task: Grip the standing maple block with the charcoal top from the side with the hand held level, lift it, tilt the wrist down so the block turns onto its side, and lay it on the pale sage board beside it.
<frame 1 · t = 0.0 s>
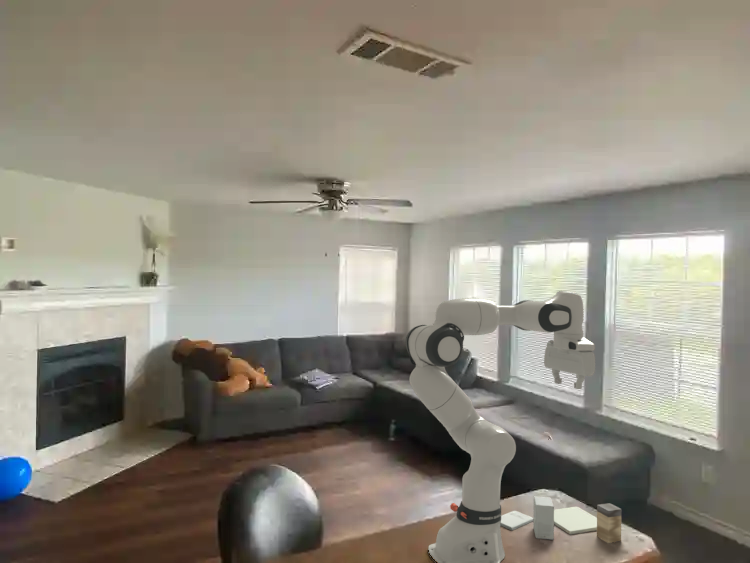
hand: (567, 386, 170), 48 cm above the table, tool pointing down, fingers open, 8 cm apart
sage board: (573, 521, 183), on the table
maple block: (608, 538, 170), on the table
small box: (543, 534, 173), on the table
external hard drive: (512, 523, 182), on the table
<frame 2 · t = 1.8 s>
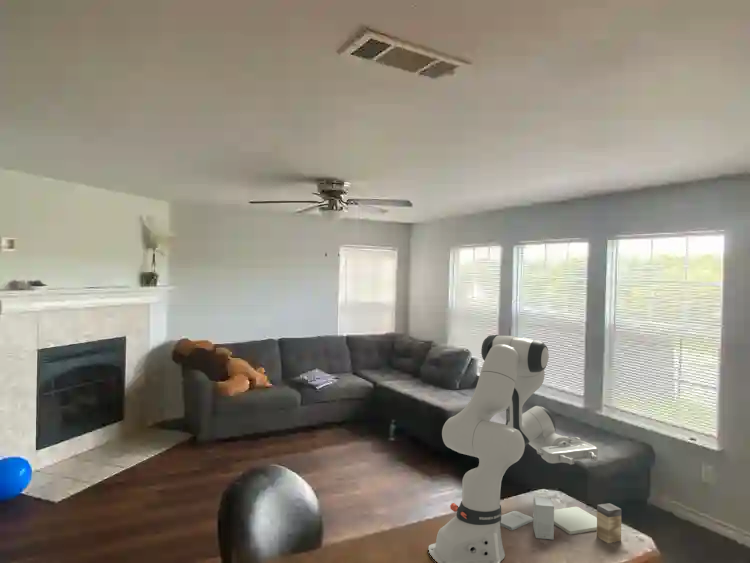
hand: (584, 460, 182), 21 cm above the table, tool horizontal, fingers open, 8 cm apart
nothing on the table moved.
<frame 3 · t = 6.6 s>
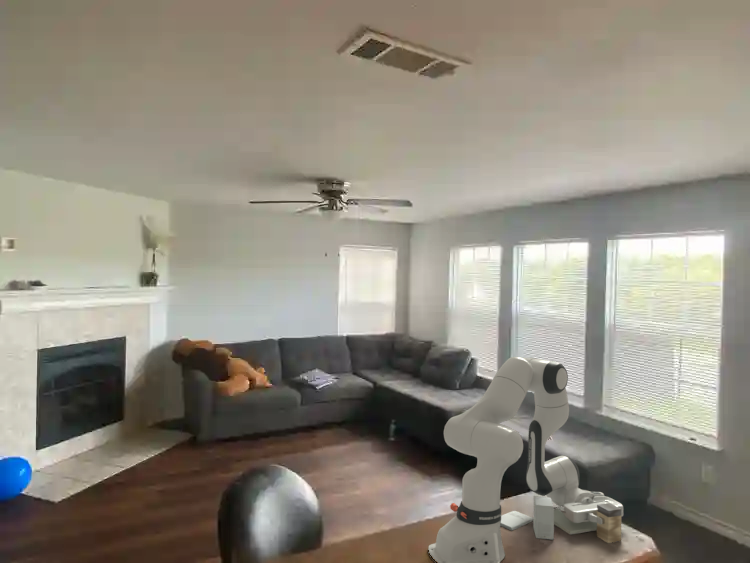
hand: (611, 520, 169), 6 cm above the table, tool horizontal, fingers closed on maple block, 5 cm apart
maple block: (608, 538, 170), on the table, touching gripper
everything else where it was.
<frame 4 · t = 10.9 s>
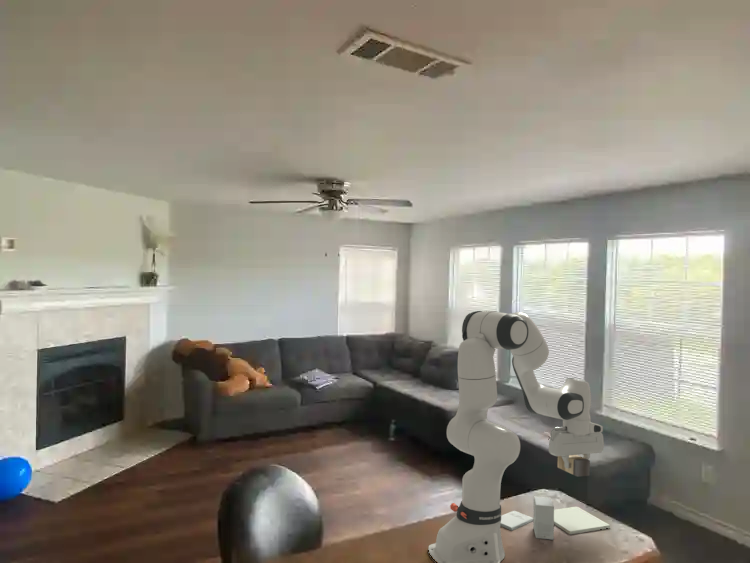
hand: (575, 467, 182), 19 cm above the table, tool pointing down, fingers closed on maple block, 5 cm apart
maple block: (563, 459, 188), point 19 cm above the table, tilted 89°, touching gripper
everything else where it was.
when the fingers open (4 cm above the table, at t = 14.7 s): maple block drops 1 cm, resting on sage board.
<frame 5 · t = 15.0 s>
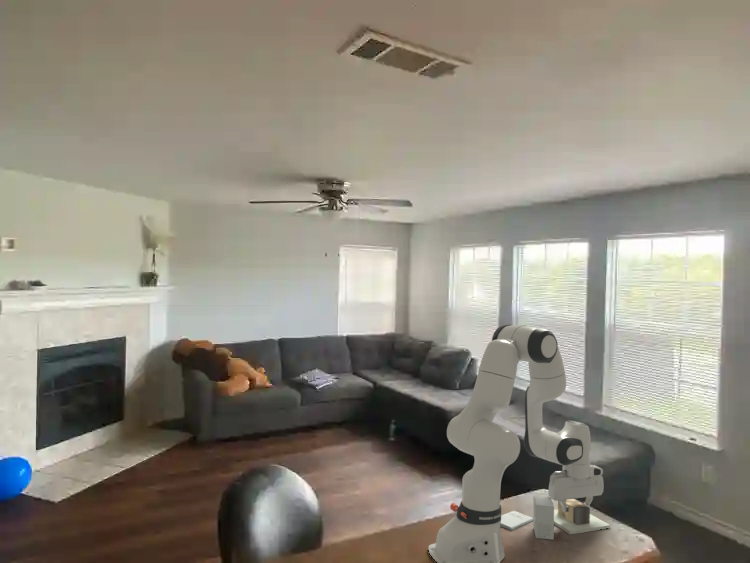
hand: (575, 510, 182), 4 cm above the table, tool pointing down, fingers open, 7 cm apart
maple block: (563, 505, 188), point 3 cm above the table, tilted 90°, touching sage board
everything else where it was.
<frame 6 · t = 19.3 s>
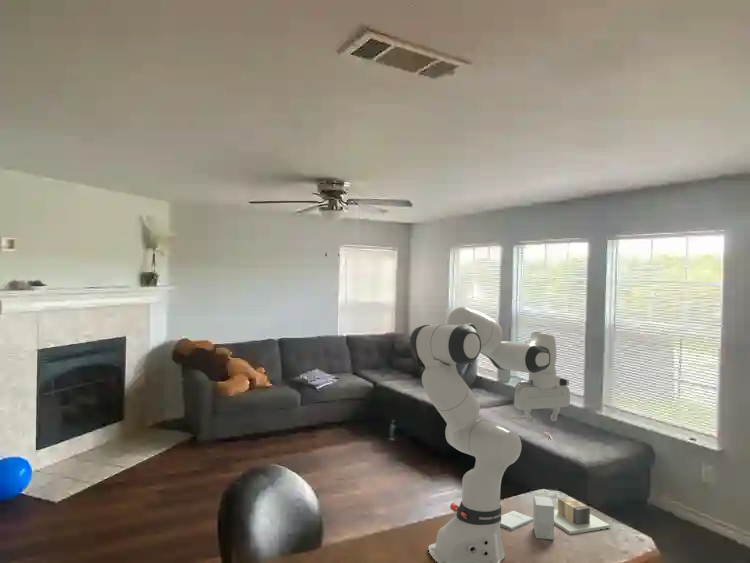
hand: (541, 421, 181), 34 cm above the table, tool pointing down, fingers open, 8 cm apart
nothing on the table moved.
at the end: maple block tilted 90°; maple block inside the target area (2.1 cm from its centre), point 3.5 cm above the table; the gripper is holding nothing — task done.
